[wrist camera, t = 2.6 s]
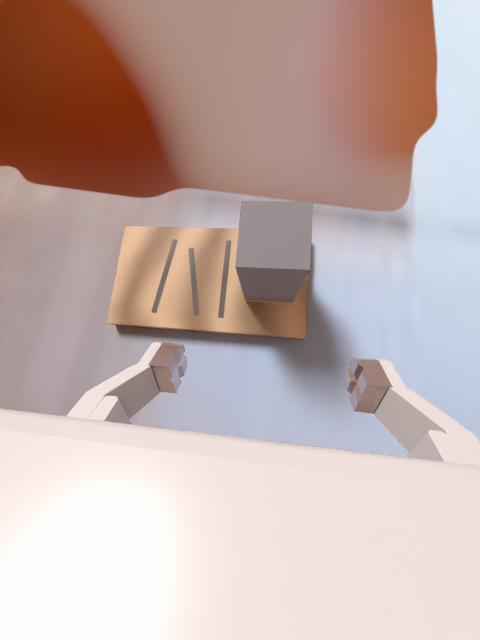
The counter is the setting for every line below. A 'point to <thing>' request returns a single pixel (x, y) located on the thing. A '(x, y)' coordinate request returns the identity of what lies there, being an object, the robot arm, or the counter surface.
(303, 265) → the block
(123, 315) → the board
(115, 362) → the counter surface
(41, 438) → the robot arm
